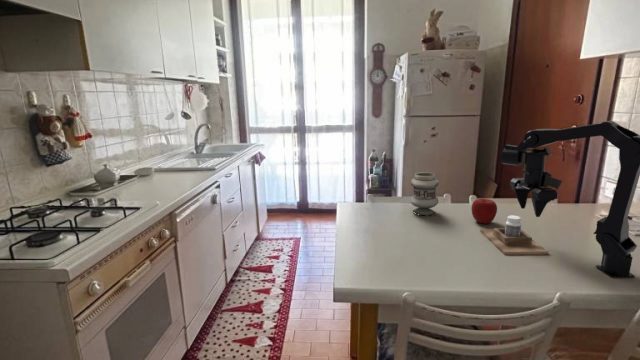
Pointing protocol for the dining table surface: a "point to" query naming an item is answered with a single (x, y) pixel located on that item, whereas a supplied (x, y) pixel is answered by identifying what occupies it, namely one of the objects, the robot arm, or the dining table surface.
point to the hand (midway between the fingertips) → (530, 212)
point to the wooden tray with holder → (513, 242)
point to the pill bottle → (513, 226)
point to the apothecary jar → (424, 193)
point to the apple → (484, 210)
